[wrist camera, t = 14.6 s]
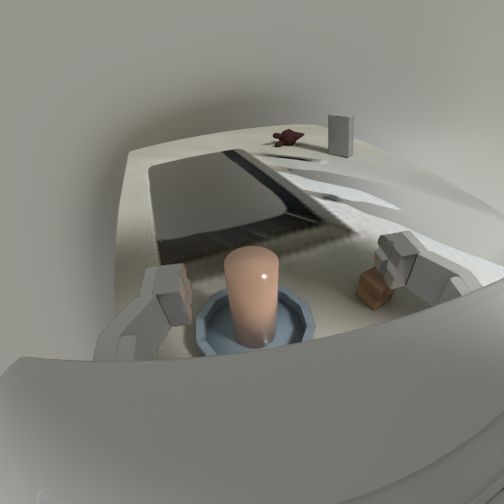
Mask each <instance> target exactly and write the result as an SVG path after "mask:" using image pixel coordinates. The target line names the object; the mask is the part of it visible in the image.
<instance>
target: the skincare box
mask: <svg viewBox="0 0 504 504" xmlns="http://www.w3.org/2000/svg"><path fill="white" fill-rule="evenodd" d="M353 133H354V115H348V114H339V113H332V114H329V115H328V154H332V155H337V156H343V157H349V156H351V155H352V154H353V135H354V134H353Z"/></svg>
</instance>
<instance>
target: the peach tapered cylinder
mask: <svg viewBox="0 0 504 504" xmlns="http://www.w3.org/2000/svg"><path fill="white" fill-rule="evenodd" d="M224 270H225V277H226V284H227V291H228V298H229V305H230V312H231V318H232V325H233V331H234V337H235V339H236V341H237V342H238V343H239V344H240V345H242V346H244V347H246V348H250V349H259V348H263V347H266V346H267V345H269V344H270V343H271V342H272V341H273V340H274V338H275V336H276V327H277V302H278V272H279V260H278V257H277V256H276V254H275V253H274V252H272V251H271V250H269V249H267V248H264V247H259V246H246V247H242V248H238V249H236V250H234V251H232V252H231V253H230V254H228V256H227V257H226V258H225V261H224Z"/></svg>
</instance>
